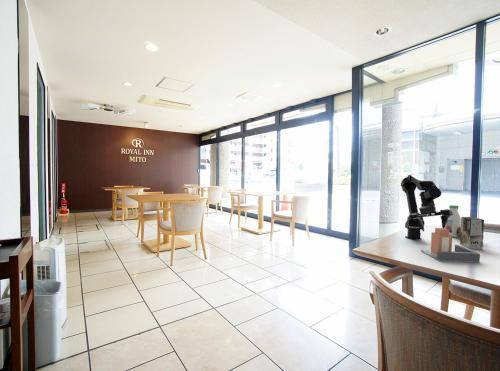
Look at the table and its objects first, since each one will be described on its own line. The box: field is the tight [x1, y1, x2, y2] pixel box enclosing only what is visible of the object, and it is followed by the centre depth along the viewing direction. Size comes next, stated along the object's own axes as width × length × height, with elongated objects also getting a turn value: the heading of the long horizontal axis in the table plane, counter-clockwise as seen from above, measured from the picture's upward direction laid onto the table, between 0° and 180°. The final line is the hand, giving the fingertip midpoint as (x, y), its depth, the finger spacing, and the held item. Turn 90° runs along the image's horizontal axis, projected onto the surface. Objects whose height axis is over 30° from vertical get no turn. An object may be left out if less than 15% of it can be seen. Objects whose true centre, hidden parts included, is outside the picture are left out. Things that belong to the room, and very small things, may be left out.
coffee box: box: [459, 216, 485, 250], centre depth 142 cm, size 9×6×16 cm
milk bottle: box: [445, 204, 461, 238], centre depth 165 cm, size 8×8×20 cm
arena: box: [421, 244, 481, 264], centre depth 125 cm, size 14×18×4 cm
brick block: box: [430, 227, 453, 255], centre depth 126 cm, size 6×6×12 cm
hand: (433, 230), depth 137 cm, fingers open, 9 cm apart
